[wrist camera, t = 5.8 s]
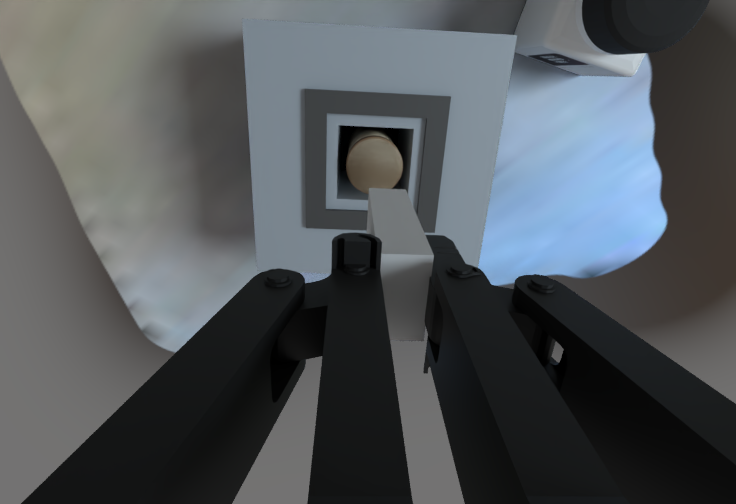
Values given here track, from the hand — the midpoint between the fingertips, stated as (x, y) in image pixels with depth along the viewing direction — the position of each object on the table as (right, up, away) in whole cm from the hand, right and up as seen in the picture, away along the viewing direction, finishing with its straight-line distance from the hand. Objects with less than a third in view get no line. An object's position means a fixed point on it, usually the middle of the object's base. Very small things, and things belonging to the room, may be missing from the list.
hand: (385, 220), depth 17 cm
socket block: (-1, +9, +23) cm, 24 cm away
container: (+16, +19, +19) cm, 32 cm away
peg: (0, +8, +21) cm, 23 cm away
